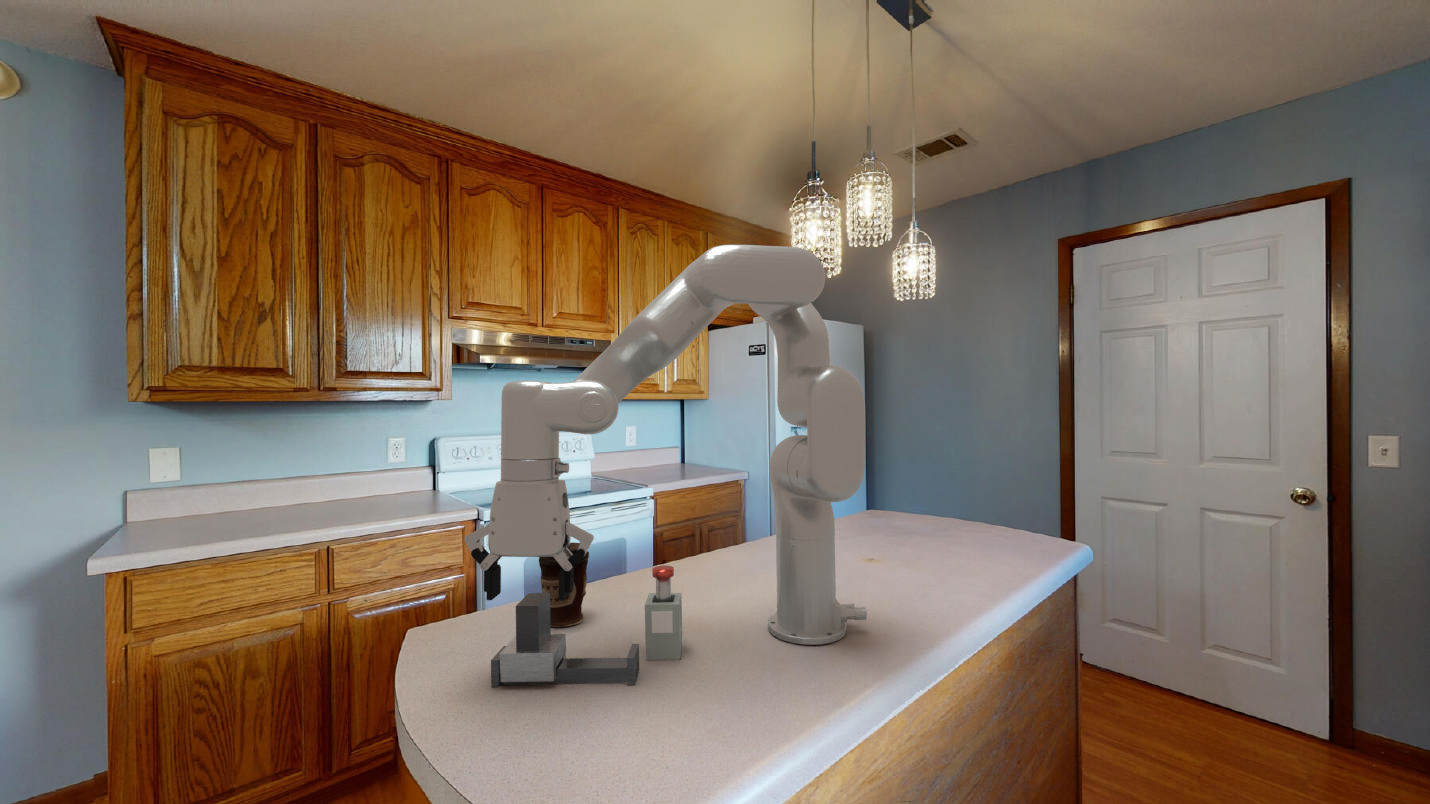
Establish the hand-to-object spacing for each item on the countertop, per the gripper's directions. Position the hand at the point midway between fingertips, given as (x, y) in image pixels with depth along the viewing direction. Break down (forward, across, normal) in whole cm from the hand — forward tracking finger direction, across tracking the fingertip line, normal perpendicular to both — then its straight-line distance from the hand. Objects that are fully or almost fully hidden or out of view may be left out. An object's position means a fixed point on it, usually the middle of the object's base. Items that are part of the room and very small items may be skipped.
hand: (529, 597), depth 75 cm
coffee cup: (+11, +1, -20) cm, 23 cm away
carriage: (+11, -1, 0) cm, 11 cm away
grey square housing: (+11, -18, -8) cm, 22 cm away
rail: (+11, -5, 0) cm, 12 cm away
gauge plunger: (+5, -18, -8) cm, 20 cm away
